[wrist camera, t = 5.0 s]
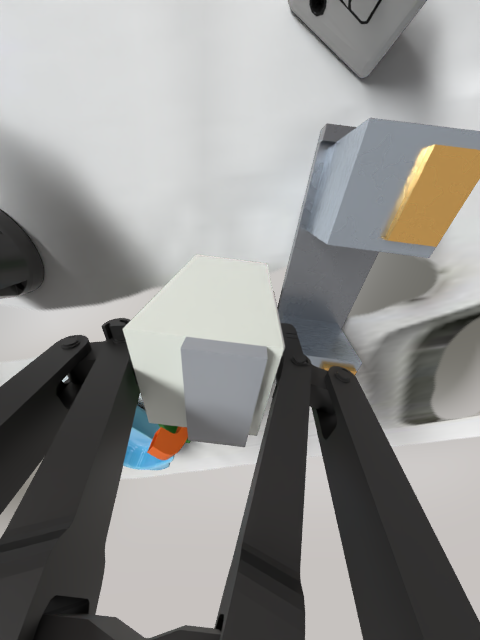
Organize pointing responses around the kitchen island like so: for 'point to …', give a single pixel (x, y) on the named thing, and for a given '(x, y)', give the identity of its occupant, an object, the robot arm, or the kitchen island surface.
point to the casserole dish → (143, 444)
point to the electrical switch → (357, 27)
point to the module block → (208, 349)
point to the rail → (369, 219)
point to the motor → (168, 441)
